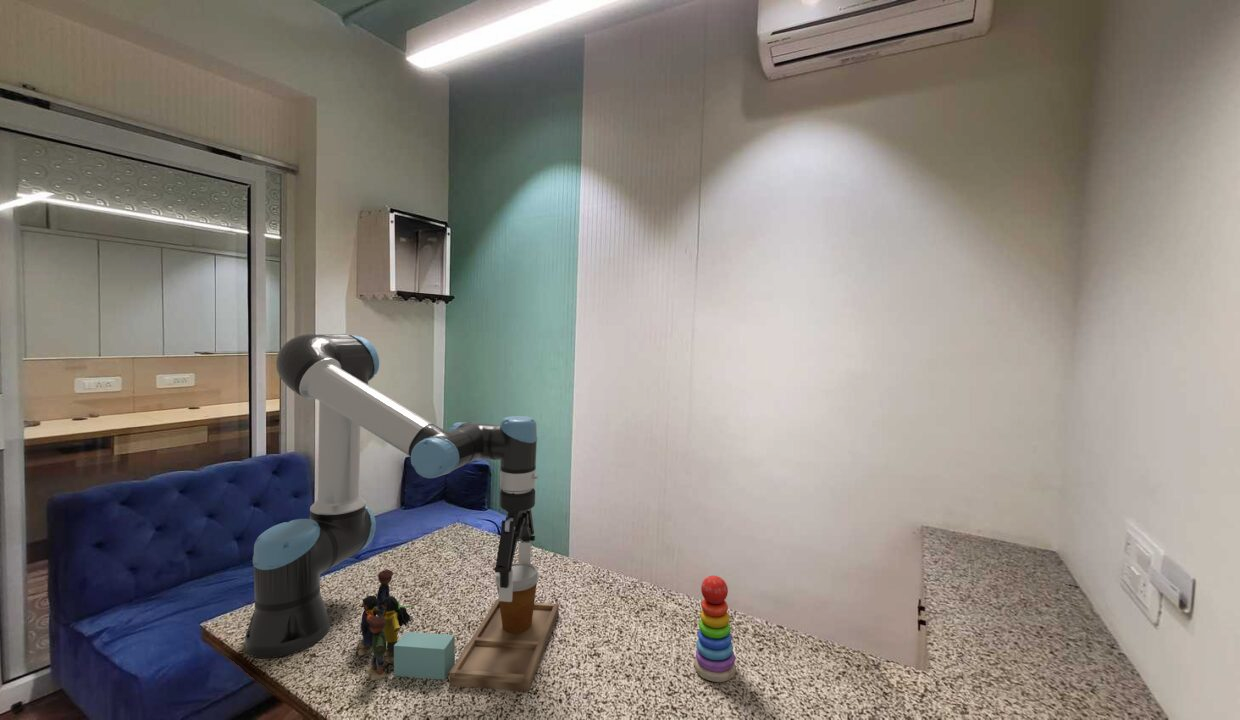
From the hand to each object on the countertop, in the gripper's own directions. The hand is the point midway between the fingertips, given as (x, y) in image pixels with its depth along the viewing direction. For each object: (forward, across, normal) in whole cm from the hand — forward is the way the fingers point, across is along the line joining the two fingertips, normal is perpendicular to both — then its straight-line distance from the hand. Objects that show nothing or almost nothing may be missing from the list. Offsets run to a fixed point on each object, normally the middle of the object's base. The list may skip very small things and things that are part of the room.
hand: (515, 584), depth 109 cm
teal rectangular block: (+11, -14, +13) cm, 22 cm away
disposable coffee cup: (+9, 0, -1) cm, 9 cm away
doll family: (+12, -9, +25) cm, 29 cm away
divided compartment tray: (+11, -5, -1) cm, 12 cm away
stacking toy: (+10, -8, -43) cm, 45 cm away
